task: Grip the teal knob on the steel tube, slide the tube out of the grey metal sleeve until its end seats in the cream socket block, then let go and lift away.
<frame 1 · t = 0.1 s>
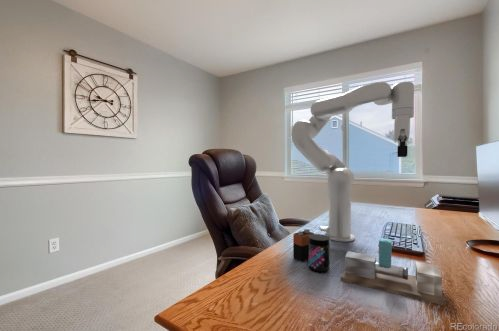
hand: (402, 156, 98), 37 cm above the table, tool pointing down, fingers open, 9 cm apart
battery: (303, 259, 87), on the table
supplement container: (318, 270, 78), on the table
tube rig: (388, 282, 70), on the table
slip tube: (376, 255, 72), point 7 cm above the table, slide at 0.0 cm
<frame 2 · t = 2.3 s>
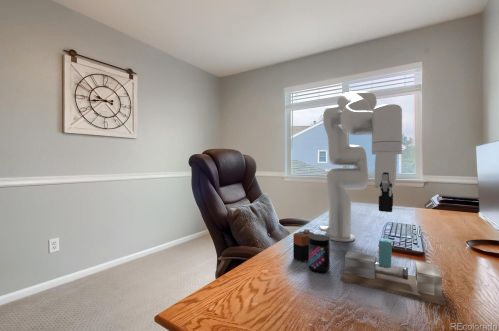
hand: (386, 208, 70), 21 cm above the table, tool pointing down, fingers open, 9 cm apart
nothing on the table moved.
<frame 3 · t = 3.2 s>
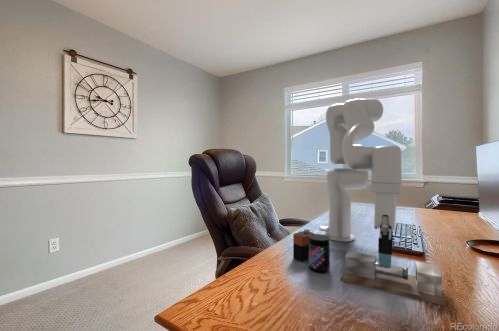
hand: (385, 248, 70), 10 cm above the table, tool pointing down, fingers open, 9 cm apart
nothing on the table moved.
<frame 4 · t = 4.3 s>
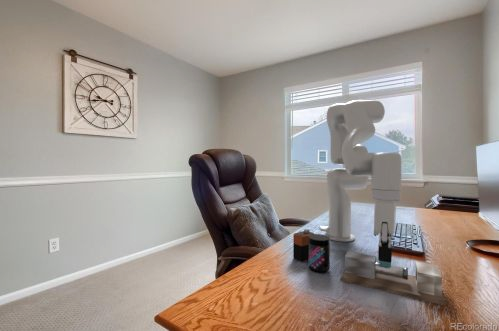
hand: (385, 258, 70), 7 cm above the table, tool pointing down, fingers closed on slip tube, 3 cm apart
slip tube: (376, 255, 72), point 7 cm above the table, slide at 0.0 cm, touching gripper
everything else where it was.
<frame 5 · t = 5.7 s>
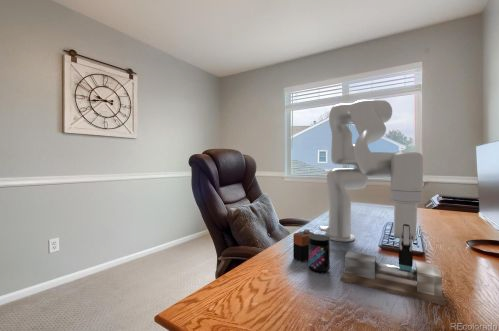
hand: (405, 262, 68), 7 cm above the table, tool pointing down, fingers closed on slip tube, 3 cm apart
slip tube: (395, 259, 69), point 7 cm above the table, slide at 4.9 cm, touching gripper
everything else where it was.
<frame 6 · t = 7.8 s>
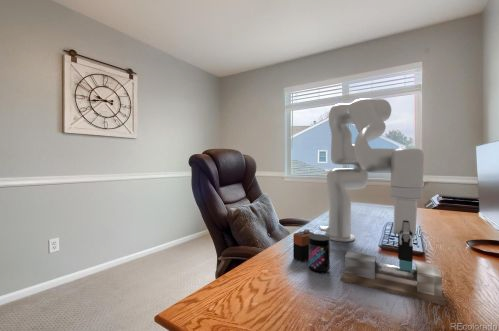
hand: (404, 253, 68), 9 cm above the table, tool pointing down, fingers open, 9 cm apart
slip tube: (396, 259, 69), point 7 cm above the table, slide at 5.0 cm
everything else where it was.
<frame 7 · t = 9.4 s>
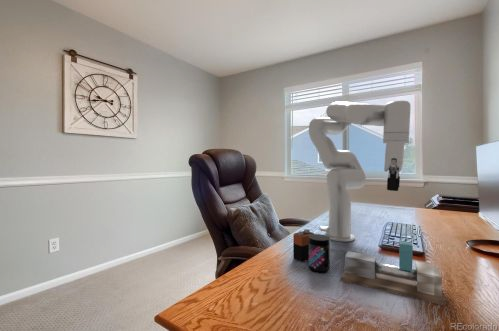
hand: (393, 188, 84), 25 cm above the table, tool pointing down, fingers open, 9 cm apart
nothing on the table moved.
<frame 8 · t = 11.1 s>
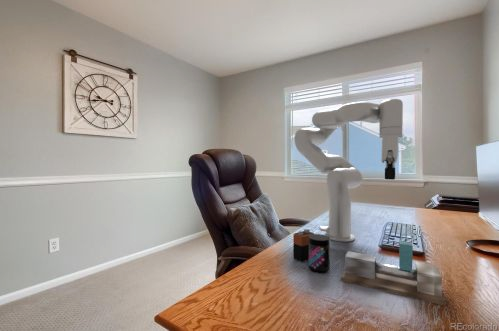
hand: (390, 178, 92), 28 cm above the table, tool pointing down, fingers open, 9 cm apart
nothing on the table moved.
at the end: slip tube slide at 5.0 cm; the gripper is holding nothing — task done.
